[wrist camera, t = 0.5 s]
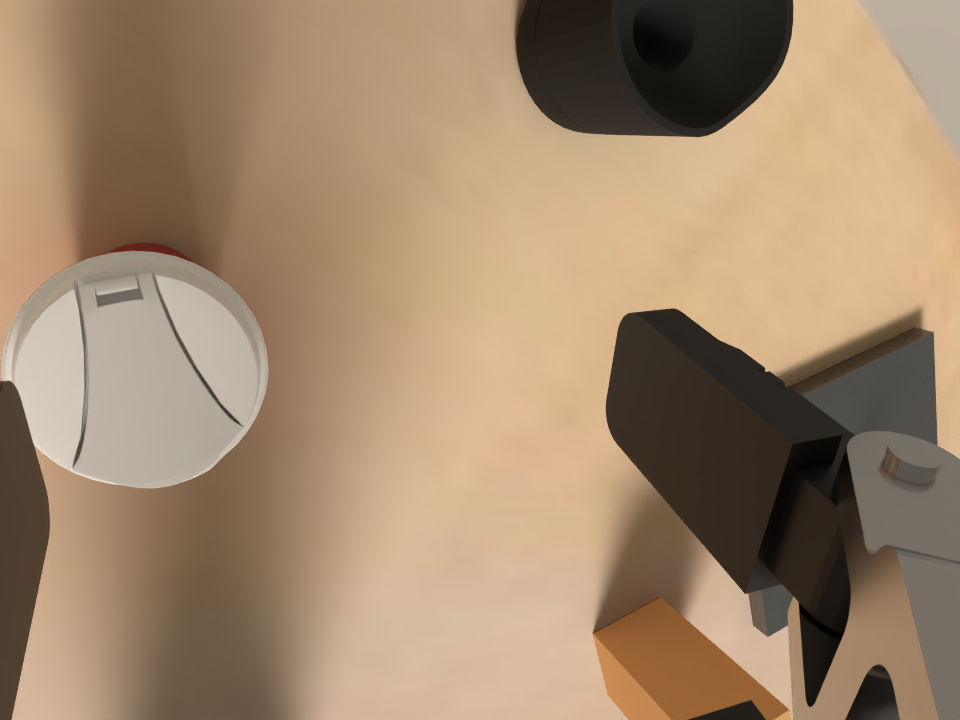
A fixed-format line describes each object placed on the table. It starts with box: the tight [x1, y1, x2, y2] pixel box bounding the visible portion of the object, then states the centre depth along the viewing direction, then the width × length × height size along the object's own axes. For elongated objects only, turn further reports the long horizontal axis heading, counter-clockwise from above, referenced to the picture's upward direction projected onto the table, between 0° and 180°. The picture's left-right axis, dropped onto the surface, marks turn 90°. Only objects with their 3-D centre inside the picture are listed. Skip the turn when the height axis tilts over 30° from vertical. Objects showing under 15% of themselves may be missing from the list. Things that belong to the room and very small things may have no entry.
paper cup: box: [2, 243, 268, 489], centre depth 29 cm, size 8×8×14 cm
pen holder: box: [517, 0, 793, 137], centre depth 36 cm, size 9×9×10 cm
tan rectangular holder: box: [593, 597, 791, 720], centre depth 47 cm, size 6×6×12 cm
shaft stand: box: [749, 328, 937, 637], centre depth 52 cm, size 18×18×9 cm
